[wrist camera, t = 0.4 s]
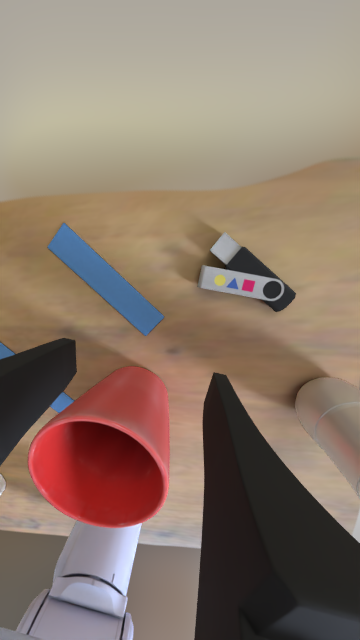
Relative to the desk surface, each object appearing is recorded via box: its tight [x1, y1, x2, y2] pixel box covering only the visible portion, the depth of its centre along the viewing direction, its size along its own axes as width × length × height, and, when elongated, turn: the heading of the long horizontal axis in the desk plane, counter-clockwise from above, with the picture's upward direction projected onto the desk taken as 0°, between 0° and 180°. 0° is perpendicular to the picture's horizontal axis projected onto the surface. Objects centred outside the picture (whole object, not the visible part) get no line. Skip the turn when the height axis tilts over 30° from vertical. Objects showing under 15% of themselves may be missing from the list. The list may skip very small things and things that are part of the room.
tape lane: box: [0, 223, 164, 413], centre depth 22 cm, size 19×13×1 cm
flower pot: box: [28, 366, 170, 528], centre depth 19 cm, size 11×11×10 cm
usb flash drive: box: [198, 232, 296, 312], centre depth 18 cm, size 9×5×1 cm, turn 51°
